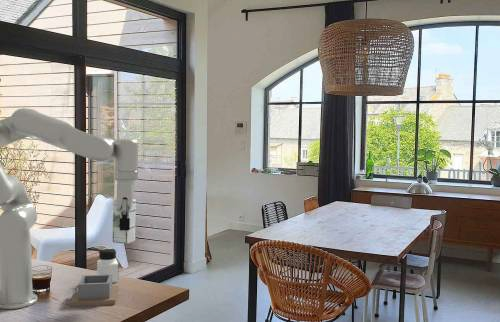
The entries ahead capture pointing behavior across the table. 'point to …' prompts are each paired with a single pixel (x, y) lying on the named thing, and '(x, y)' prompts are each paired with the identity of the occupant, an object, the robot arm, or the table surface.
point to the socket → (95, 291)
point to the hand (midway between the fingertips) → (125, 227)
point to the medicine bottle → (108, 263)
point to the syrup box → (118, 234)
